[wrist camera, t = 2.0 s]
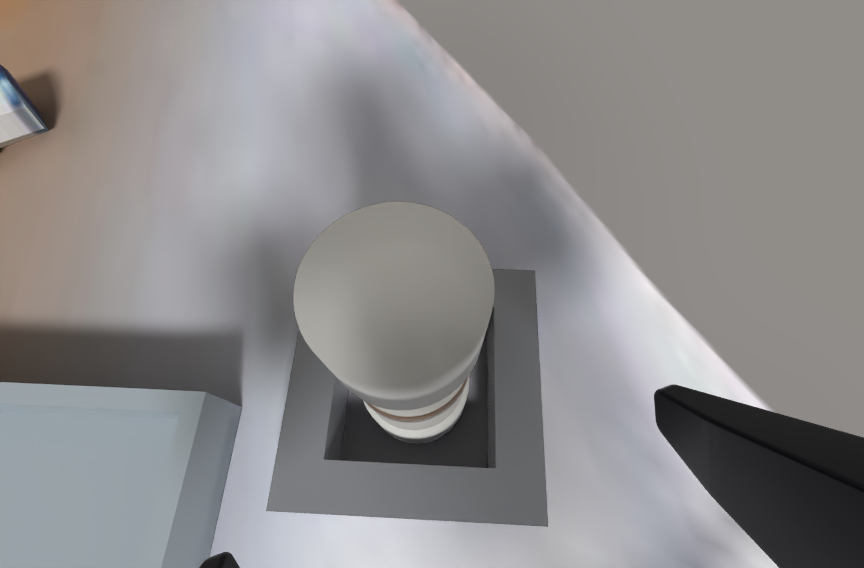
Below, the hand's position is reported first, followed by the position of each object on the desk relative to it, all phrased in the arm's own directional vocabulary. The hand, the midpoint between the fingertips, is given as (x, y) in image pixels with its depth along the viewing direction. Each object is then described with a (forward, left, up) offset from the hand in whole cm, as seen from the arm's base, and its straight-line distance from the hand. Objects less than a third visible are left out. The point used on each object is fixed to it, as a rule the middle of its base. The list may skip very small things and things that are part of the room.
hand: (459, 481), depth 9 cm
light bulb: (+4, +2, -11) cm, 12 cm away
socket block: (+4, +2, -11) cm, 12 cm away
